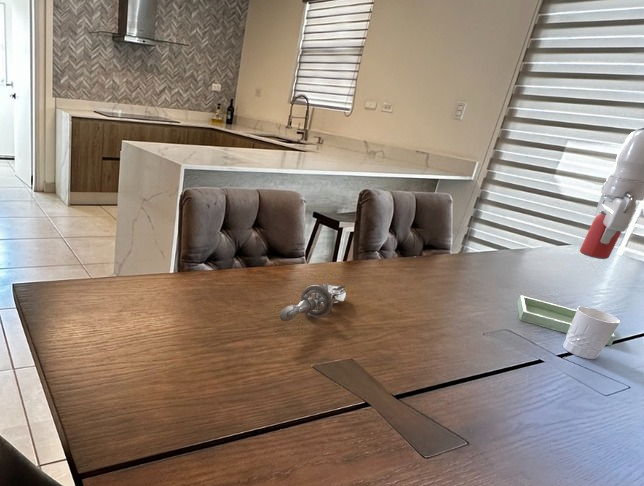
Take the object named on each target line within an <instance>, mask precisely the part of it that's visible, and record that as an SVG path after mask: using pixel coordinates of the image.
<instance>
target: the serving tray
mask: <svg viewBox="0 0 644 486" xmlns="http://www.w3.org/2000/svg"><path fill="white" fill-rule="evenodd" d="M516 305H517V311H518V319H519V321H522V322H524V323H529V324H531V325H535V326H539V327H543V328H545V329H550V330H553V331H557V332H560V333H564V334H567V333H568V330H569V327H570V325H571V323H572V320H573V318H574V316H575V313H576V311H577V309H573V308H569V307H566V306H562V305H559V304H556V303H551V302H547V301H544V300H541V299H540V300H539V299H536V298H532V297H528V296H524V295H521V294H520V295H519V298H518V300H517V302H516ZM615 339H616V335H615V334H614V333H613V334H612V336H611V338H610V339H609V340H608V342H607V344H606V345H605V346H608V347H611V346H612V344H613V343H614V342H615Z"/></svg>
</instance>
